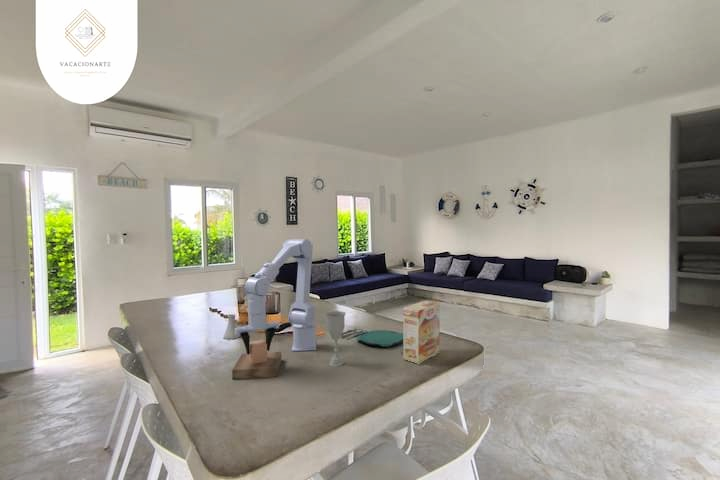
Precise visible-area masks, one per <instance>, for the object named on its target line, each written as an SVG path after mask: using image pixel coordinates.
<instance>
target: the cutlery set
mask: <svg viewBox="0 0 720 480" xmlns="http://www.w3.org/2000/svg"><path fill="white" fill-rule="evenodd" d="M357 330H362V332H360V331H357ZM357 330H356V329H355V331H354V330H352V329H347V330H346V331H345V332H344V331H343V333H342V335H341V337H340V339H343V338H346V337H347V338H346V340H347V341H348V340H349V339H352V338H355V337H356V340H357V342H358V341H359V342H361V343H362V344H366V345H370V346H376V347H377V346H378V347H379V346H380V347H382V348H385V347H386V348H389V347H391V346H396V345H398V344H401V343H403V332H397V331H392V330H386V329H375V330H370V331H368V330H365V331H363V329H362V328H361V329H359V328H358V329H357ZM359 332H360V333H359ZM365 332H366V333H365ZM347 333H348V334H347ZM353 334H354V335H353ZM351 335H352V336H351ZM348 336H349V337H348Z"/></svg>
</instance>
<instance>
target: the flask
mask: <svg viewBox="0 0 720 480" xmlns="http://www.w3.org/2000/svg"><path fill="white" fill-rule="evenodd" d="M227 318H228V320H227V326H226V329H225V332H224V335H223V339H224V340H236V339H239V338H240V337H241V336H240V334H239V335H236V334H235V328H238V325H237V322H236V314H234V313H232V314H231V313H230V314H228V315H227Z"/></svg>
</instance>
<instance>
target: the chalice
mask: <svg viewBox="0 0 720 480" xmlns="http://www.w3.org/2000/svg"><path fill="white" fill-rule="evenodd" d="M346 314H347V313H346V312H345V311H337V310H336V311H329V312H326V313H325V316H326V326H327V327H326V328H327V331H328V334H329V336H330V337H331V339H332V340H334V344H333V346H334V349H333V351H334V355H333V356H332V357H331V359H330V361H329V366H331V367H340V366H342V365H344V361H343V359H342V356H341V355H339V350H340V349H339V348H338V346H339V343H338V342H339V340H340V339H341V336H343V335H342V333H344V330H345V325H346V324H345V317H346Z"/></svg>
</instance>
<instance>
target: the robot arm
mask: <svg viewBox="0 0 720 480" xmlns="http://www.w3.org/2000/svg"><path fill="white" fill-rule="evenodd" d="M313 249H314V246H313V244H312V242H311V241H310V240H309V239H307V238H305V239H302V238H300V239H295V238H294V239H292V238H288V239H287V240H285V241H284V243H282V248H281V250H280V251H279V252H278V253H277V255H276V256H275V257H274V259H273V260H272V261H271V262H266V263H264V264H262V268H260V270H258V272H256V273H255V274H254V276H253V277H249V278H248V279H247V280H246V281H245V283H244V286H243V291H244V292H245V294H246V299H247V308H248V310H247V312H248V315H247V316H248V324H247V325H243V326H242V325H241V326H240V327H238V326H237V327H238V328H235V334H236V335H239V334H240V337H241V339H242V342H243V344H244V348H245V351H246V353H245V354H250V347H249V342H251V339H250V337H251V336H250V333H253V332H260V331H265V332H264V334H265V342H266V343H267V352H268V351H270V349H271V345H272V344H271V343H272V341H273V338H274V336H275V334H276V329H279V328H280V323H279V321H270V322H269V321H268V322H267V318H266V317H267V315H266V311H267V310H266V307H267V306H266V294H267V293H268V292H269V290H270V286H271V283H272V282H273V280H275V278H276V277H277V276H278V275H279V273H280V268H281V267H282V266H284V264H285V263H287V261H288V260H289V259H290V258H293V259H294V260H295V261H296V262H297V275H296V276H297V277H296V290H295V291H296V292H295V301H294V302H293V303H292V304H290V310H289V313H288V316H287V317H288V321H289V323H290V324H291V327H292V338H293V340H292V342H293V343H292V347H291V352H302V351H316V350H317V344H318V339H317V325H314V323H315V321H316V314H315V306H314V305H313V304H312V303H311V302H310V294H311V293H310V291H311V277H312V276H311V275H312V260H313Z"/></svg>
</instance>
